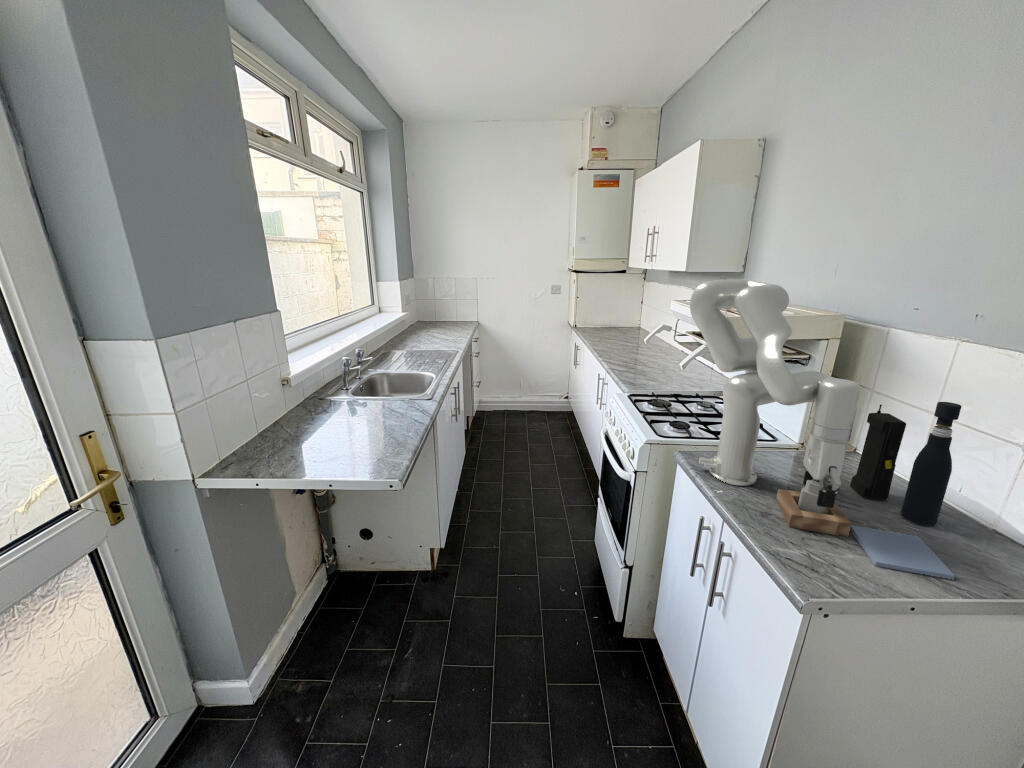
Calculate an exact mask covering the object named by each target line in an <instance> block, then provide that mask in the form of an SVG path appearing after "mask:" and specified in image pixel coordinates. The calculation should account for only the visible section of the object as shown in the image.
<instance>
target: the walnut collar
mask: <svg viewBox="0 0 1024 768" xmlns="http://www.w3.org/2000/svg"><path fill="white" fill-rule="evenodd" d="M800 494H801V491H797V490H788V489H783V488H781V489H780V488H778V489H777V493H776V497H775V501H776V503H777V506H778V507H779V510H780V511H781V513H782V515H783V518H784V520H785V522H786V524H787V526H788V527H789V528H794V529H798V530H799V529H800V530H807V531H813V532H818V533H824V534H829V535H836V536H842V537H848V538H849V534H850V532H851V531H850V527H851V526H852V522H851V521H850V520H849V519H848V516H847V515H846V514H845V513H844V511H843V510H842V509H841V507H840V506H839V505H838V504H837V502H836V501H835V502H834V507H833V508H828V507H827V508H826V512H825V514H820V513H814V512H807V511H801V510H800V509H799V507H798V502H799V498H800Z"/></svg>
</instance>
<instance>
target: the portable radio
mask: <svg viewBox="0 0 1024 768" xmlns="http://www.w3.org/2000/svg"><path fill="white" fill-rule="evenodd" d="M882 406H883V404H879V407H878V410H877V411H876V412H870V413H868V415H867V419H866V422H867V423H868V425H869V426H868V429H867V431H866V437H865V440H864V445H863V448H862V452H861V455H860V459H859V462H858V463H859V464H858V466H857V471H856V474H855V475H853V476H852V478H851V480H850V481H851V482H850V485H849V486H850V488H851V489H853V491H854V492H856V493H857V494H858V495H859V496H860V498H863V499H869V500H876V501H887V500H888V499H889V497H890V491H891V487H892V482H893V478H894V473H895V469H896V466H897V465H896V462H897V459H898V456H899V451H900V448H901V444H902V442H903V441H902V440H903V437H904V435H905V430H906V427H907V422H905V421H903V420H902V419H899V418H898V417H896V416H894V415H892V414H891V413H889V412H888V413H887V412H882V410H881V409H882Z"/></svg>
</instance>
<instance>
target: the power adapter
mask: <svg viewBox="0 0 1024 768" xmlns="http://www.w3.org/2000/svg"><path fill="white" fill-rule="evenodd" d="M826 486H828V484H826ZM819 490H821V482H820V481H819V482H816V481H814V478H813V480H807V482H806V486H802V488H801V490H800V492H801V494H800V498H799V502H798V507H799V509H800V510H801V511H807V512H814V513H820V514H825V512H826V508H827V507H821V506H818V505H817V499H818V494H819Z"/></svg>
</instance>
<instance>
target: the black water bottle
mask: <svg viewBox="0 0 1024 768" xmlns="http://www.w3.org/2000/svg"><path fill="white" fill-rule="evenodd" d="M962 407H963V406H962V405H961V404H959V403H955V402H951V401H950V402H948V401H938V402H937V404H936V407H935V411H934V414H933V415H934V417H936V418H937V419H936V422H935V425H934V426H933V427H932V428H931V429H932V430H931V432H930V433H929V434H928V439H927V443H926V444H925V445H924V446H923V448H922V449H920V451H919V452H918V455H917V456H916V457H915V460H914V462H913V463H912V464H913V465H912V469H911V472H910V476H909V481H908V485H907V488H906V492H905V495H904V499H903V502H902V507H901V511H900V516H901V518H903V519H905V520H906V521H908V522H911V523H913V524H916V525H919V526H923V527H924V526H925V527H935V526H937V523H938V521H939V517H940V513H941V510H942V506H943V502H944V499H945V495H946V492H947V490H948V489H947V488H948V485H949V482H950V478H951V475H952V472H953V471H952V470H953V461H952V460H953V459H952V454H951V450H950V447H951V444H952V441H953V436H952V433H953V428H952V427H953V423H954V421H956V420H959V417H960V413H961V409H962Z"/></svg>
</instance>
